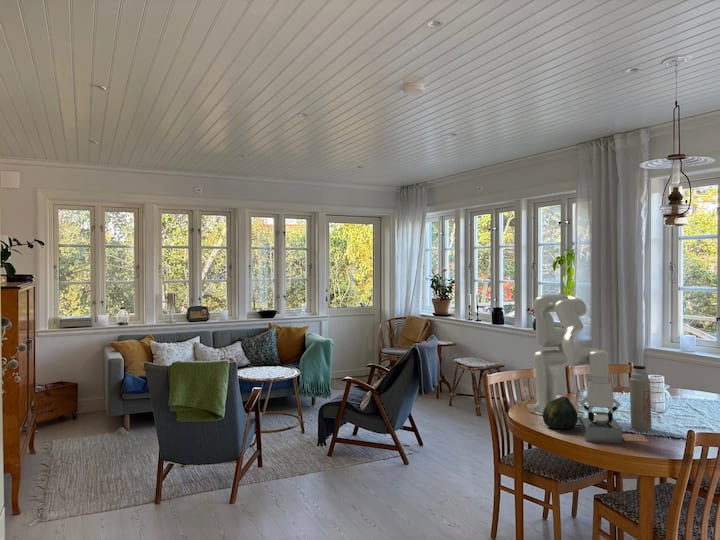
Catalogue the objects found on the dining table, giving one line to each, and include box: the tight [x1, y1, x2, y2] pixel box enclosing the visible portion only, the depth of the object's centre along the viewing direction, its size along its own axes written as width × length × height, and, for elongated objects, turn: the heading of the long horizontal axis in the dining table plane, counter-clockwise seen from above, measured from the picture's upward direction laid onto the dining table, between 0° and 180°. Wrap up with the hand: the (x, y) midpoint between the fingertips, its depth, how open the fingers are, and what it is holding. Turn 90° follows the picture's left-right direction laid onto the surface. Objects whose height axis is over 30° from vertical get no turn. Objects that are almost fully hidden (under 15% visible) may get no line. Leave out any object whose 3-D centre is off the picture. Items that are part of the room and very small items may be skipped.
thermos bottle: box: [629, 365, 652, 433], centre depth 236 cm, size 8×8×28 cm
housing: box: [580, 417, 623, 444], centre depth 226 cm, size 14×14×6 cm
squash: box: [542, 396, 578, 430], centre depth 242 cm, size 14×15×15 cm
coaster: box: [622, 433, 649, 443], centre depth 224 cm, size 9×9×1 cm
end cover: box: [592, 410, 609, 425], centre depth 226 cm, size 7×7×10 cm
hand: (600, 421), depth 226 cm, fingers closed on end cover, 6 cm apart
